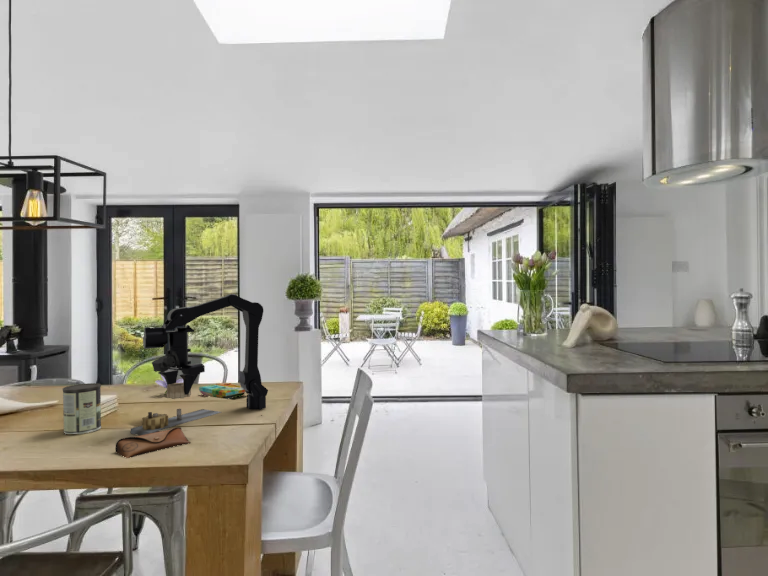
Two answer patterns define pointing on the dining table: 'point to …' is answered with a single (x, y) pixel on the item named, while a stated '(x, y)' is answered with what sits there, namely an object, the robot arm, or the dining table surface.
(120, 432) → the dining table surface
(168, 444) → the sunglasses case
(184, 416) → the gear board
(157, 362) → the robot arm
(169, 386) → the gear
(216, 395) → the puzzle game
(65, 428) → the coffee can
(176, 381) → the water lily
